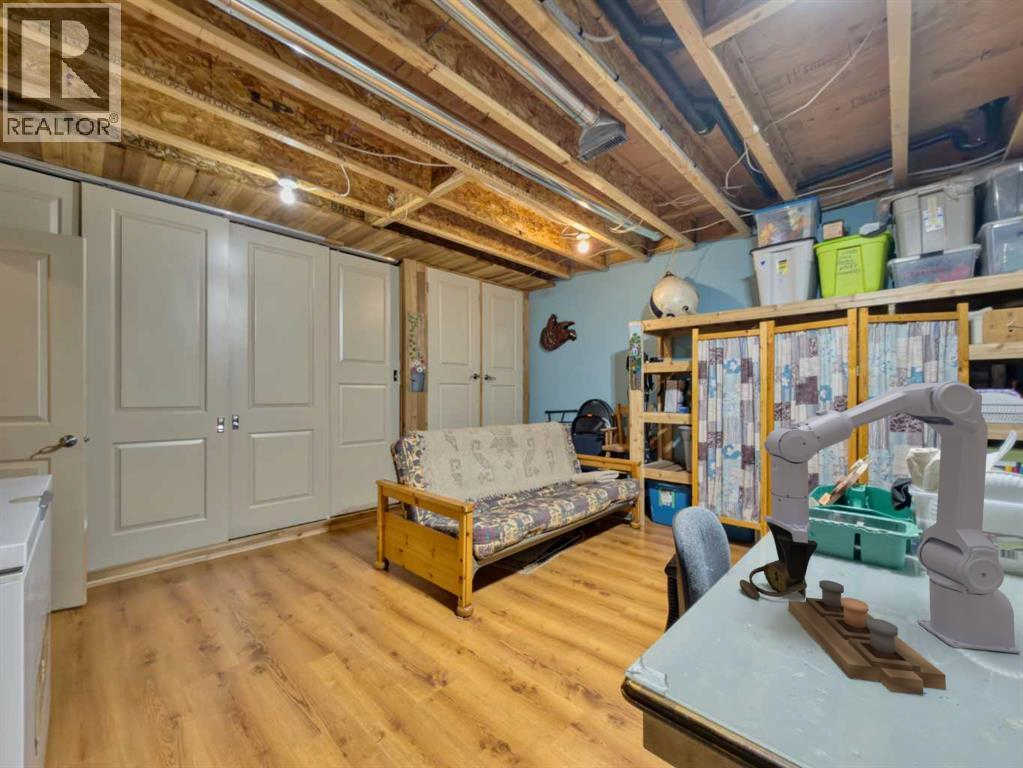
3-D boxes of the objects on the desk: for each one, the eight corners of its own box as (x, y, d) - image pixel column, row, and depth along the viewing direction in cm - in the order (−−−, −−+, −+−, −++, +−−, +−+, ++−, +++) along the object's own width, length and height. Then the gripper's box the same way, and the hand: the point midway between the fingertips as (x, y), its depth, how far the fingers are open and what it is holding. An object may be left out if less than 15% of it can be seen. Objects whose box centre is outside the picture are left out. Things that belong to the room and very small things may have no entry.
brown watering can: (821, 582, 82) (798, 552, 92) (749, 570, 85) (735, 543, 95) (813, 614, 84) (792, 582, 94) (743, 601, 86) (730, 571, 96)
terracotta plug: (860, 618, 72) (859, 598, 72) (873, 630, 69) (873, 608, 69) (836, 616, 73) (836, 596, 73) (848, 627, 69) (848, 606, 70)
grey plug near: (887, 642, 65) (887, 619, 65) (904, 656, 62) (904, 632, 62) (861, 639, 66) (860, 617, 66) (876, 653, 63) (875, 629, 63)
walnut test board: (853, 612, 81) (852, 597, 81) (957, 699, 58) (957, 678, 58) (784, 605, 84) (783, 591, 84) (857, 687, 60) (857, 666, 60)
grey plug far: (837, 599, 79) (836, 581, 79) (848, 609, 76) (848, 589, 76) (815, 597, 80) (815, 579, 80) (825, 607, 76) (825, 587, 76)
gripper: (757, 485, 85) (758, 553, 85) (772, 501, 72) (773, 583, 71) (798, 488, 83) (800, 558, 82) (822, 505, 69) (823, 590, 69)
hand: (790, 570), depth 77 cm, fingers open, 7 cm apart
